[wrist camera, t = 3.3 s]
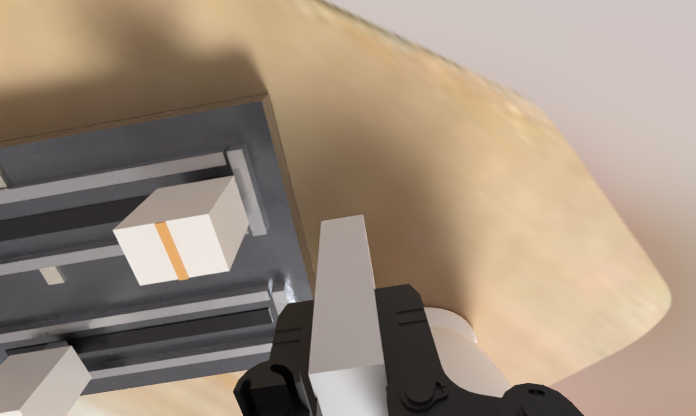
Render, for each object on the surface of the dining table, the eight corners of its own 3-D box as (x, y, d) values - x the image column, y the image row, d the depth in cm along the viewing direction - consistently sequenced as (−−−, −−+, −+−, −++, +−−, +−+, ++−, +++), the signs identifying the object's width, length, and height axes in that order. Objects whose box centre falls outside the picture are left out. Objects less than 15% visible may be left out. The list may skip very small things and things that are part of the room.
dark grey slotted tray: (29, 378, 30) (-6, 420, 27) (-131, 165, 22) (-207, 188, 19) (328, 331, 29) (328, 368, 26) (268, 93, 22) (258, 104, 18)
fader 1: (45, 371, 26) (-26, 456, 21) (23, 341, 25) (-57, 423, 20) (102, 362, 26) (44, 445, 21) (82, 331, 25) (17, 412, 20)
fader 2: (184, 225, 22) (138, 287, 17) (166, 180, 21) (111, 231, 15) (253, 213, 22) (228, 272, 16) (238, 167, 20) (207, 215, 15)
